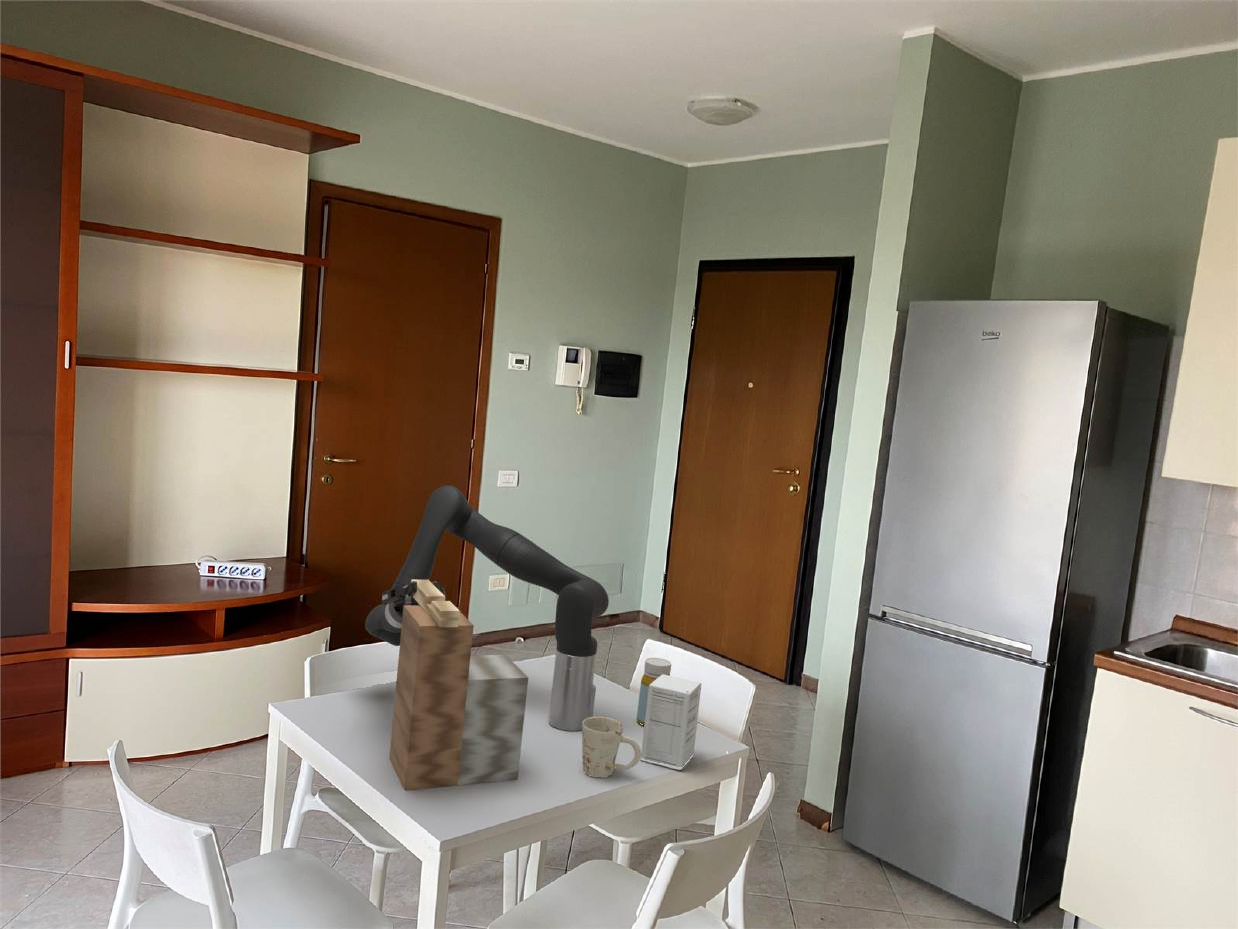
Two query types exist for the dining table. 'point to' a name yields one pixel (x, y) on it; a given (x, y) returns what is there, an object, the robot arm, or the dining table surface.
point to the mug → (604, 746)
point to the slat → (436, 604)
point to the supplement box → (671, 720)
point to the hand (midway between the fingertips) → (425, 585)
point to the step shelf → (453, 708)
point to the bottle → (651, 673)
